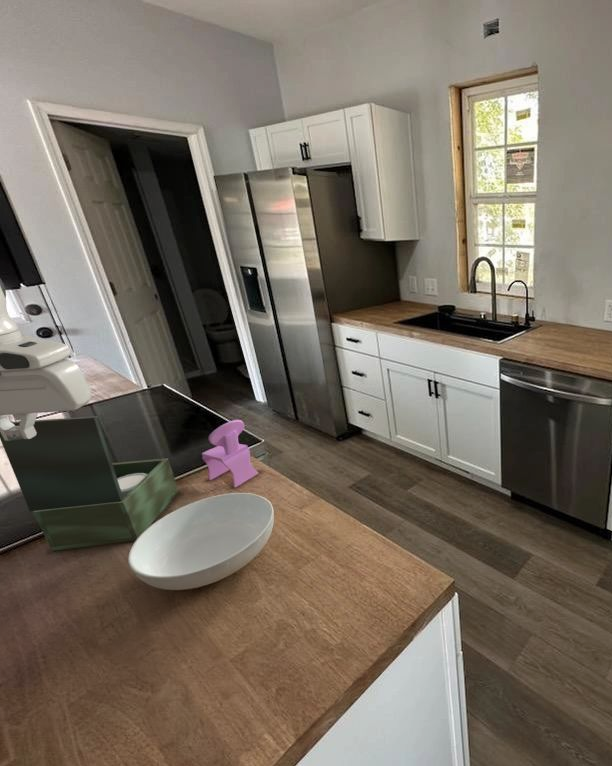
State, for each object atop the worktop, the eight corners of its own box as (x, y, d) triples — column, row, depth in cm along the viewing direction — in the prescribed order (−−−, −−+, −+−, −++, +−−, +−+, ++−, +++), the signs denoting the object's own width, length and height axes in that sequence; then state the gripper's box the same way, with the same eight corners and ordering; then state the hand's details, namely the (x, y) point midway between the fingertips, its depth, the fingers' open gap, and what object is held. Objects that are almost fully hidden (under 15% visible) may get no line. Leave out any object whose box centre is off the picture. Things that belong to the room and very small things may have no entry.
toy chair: (235, 464, 104) (222, 410, 98) (262, 471, 101) (249, 416, 96) (203, 482, 96) (186, 425, 91) (230, 490, 94) (215, 432, 88)
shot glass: (158, 495, 90) (148, 468, 87) (159, 512, 85) (149, 483, 83) (116, 508, 86) (104, 480, 83) (114, 526, 81) (102, 496, 78)
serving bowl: (140, 552, 76) (128, 522, 73) (267, 507, 89) (260, 480, 86) (140, 633, 61) (125, 599, 59) (292, 565, 74) (285, 535, 71)
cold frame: (107, 499, 90) (93, 464, 87) (179, 491, 93) (168, 458, 90) (51, 551, 76) (32, 512, 73) (138, 540, 79) (123, 502, 76)
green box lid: (-2, 422, 68) (-6, 424, 67) (97, 416, 71) (93, 417, 70) (33, 508, 73) (29, 511, 72) (123, 499, 76) (121, 501, 75)
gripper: (-140, 364, 54) (-86, 455, 59) (49, 356, 59) (84, 441, 64) (-88, 351, 60) (-43, 434, 65) (81, 344, 64) (111, 423, 69)
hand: (21, 438), depth 64 cm, fingers closed
